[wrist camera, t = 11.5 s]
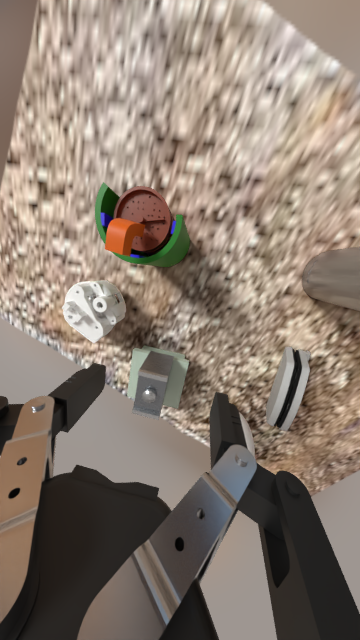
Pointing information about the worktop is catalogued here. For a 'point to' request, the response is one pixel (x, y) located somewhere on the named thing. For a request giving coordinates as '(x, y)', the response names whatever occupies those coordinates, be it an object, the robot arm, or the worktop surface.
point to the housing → (152, 384)
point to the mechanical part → (94, 308)
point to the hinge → (288, 388)
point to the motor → (140, 227)
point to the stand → (175, 377)
